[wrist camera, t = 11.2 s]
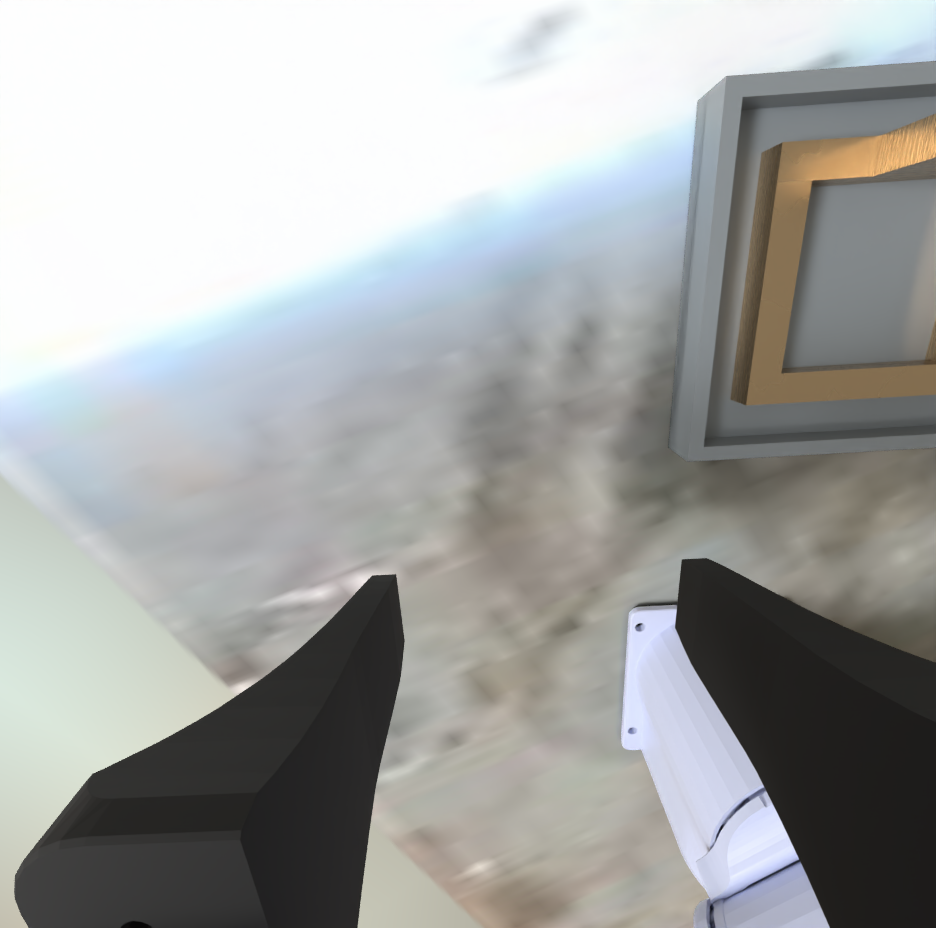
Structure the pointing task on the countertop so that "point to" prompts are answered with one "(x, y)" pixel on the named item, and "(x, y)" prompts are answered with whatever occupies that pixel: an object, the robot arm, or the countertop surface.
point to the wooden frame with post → (777, 259)
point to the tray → (807, 266)
